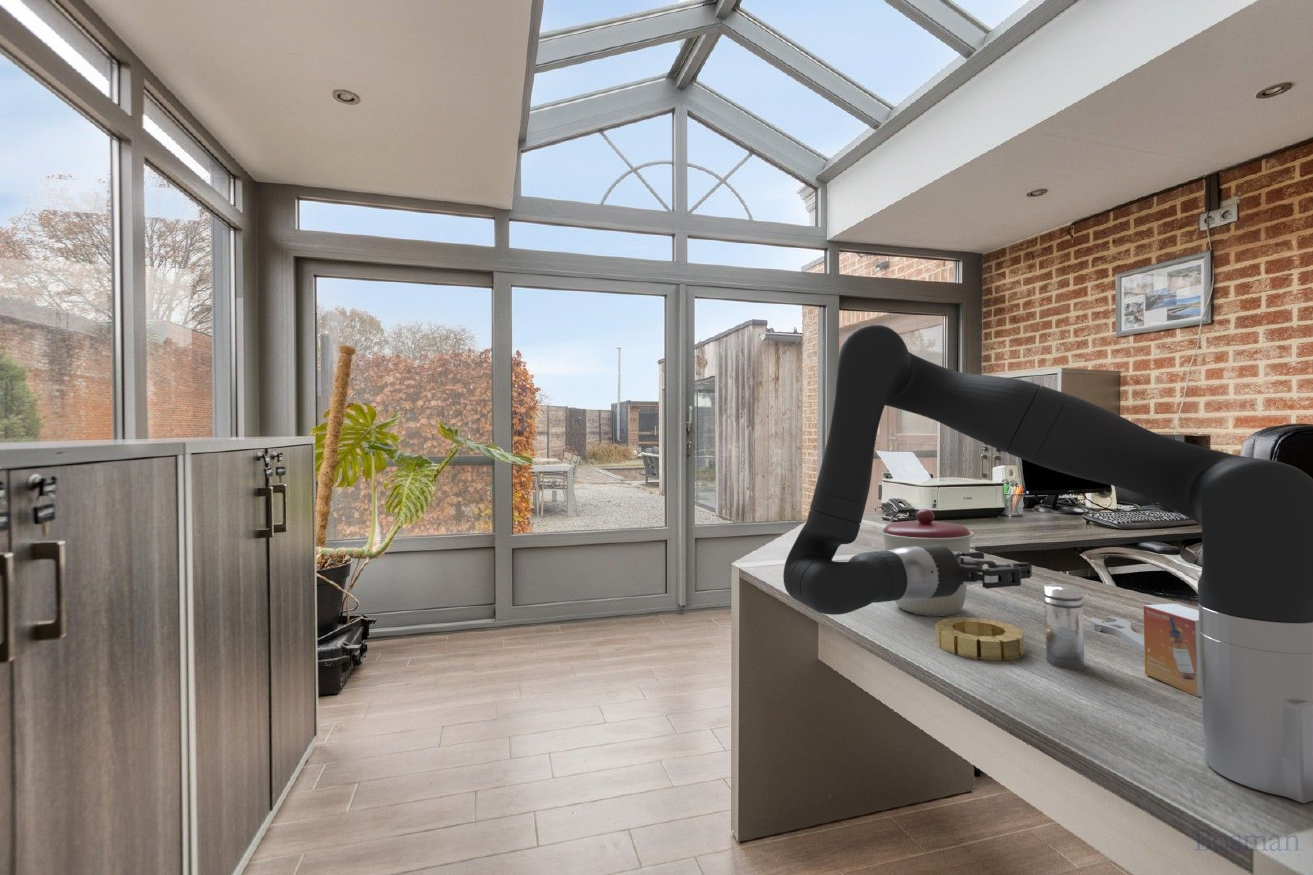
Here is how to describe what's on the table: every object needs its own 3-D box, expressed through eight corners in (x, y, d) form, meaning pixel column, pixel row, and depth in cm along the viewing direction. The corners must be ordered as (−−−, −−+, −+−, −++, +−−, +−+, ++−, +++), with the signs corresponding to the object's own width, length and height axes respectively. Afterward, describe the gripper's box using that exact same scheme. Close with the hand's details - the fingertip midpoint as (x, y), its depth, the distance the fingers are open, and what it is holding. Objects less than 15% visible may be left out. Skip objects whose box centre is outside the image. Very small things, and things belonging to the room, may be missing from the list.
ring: (1043, 653, 99) (1042, 635, 99) (979, 664, 95) (978, 645, 95) (978, 630, 112) (977, 614, 112) (920, 639, 108) (919, 622, 108)
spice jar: (1093, 666, 93) (1090, 589, 93) (1068, 671, 91) (1065, 592, 91) (1062, 655, 98) (1059, 582, 98) (1038, 660, 96) (1035, 585, 96)
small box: (1143, 675, 89) (1141, 604, 89) (1178, 672, 90) (1175, 602, 90) (1197, 697, 81) (1194, 620, 81) (1234, 694, 82) (1231, 617, 82)
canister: (874, 597, 136) (871, 505, 136) (959, 598, 133) (955, 504, 133) (893, 622, 118) (890, 515, 118) (991, 623, 115) (987, 514, 116)
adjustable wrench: (1197, 677, 89) (1196, 665, 89) (1145, 674, 91) (1145, 662, 91) (1123, 625, 113) (1123, 616, 113) (1083, 623, 115) (1083, 614, 115)
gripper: (954, 556, 80) (1047, 547, 85) (884, 538, 94) (967, 532, 98) (955, 612, 80) (1048, 600, 85) (885, 586, 94) (968, 577, 98)
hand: (1004, 563), depth 92 cm, fingers open, 8 cm apart
